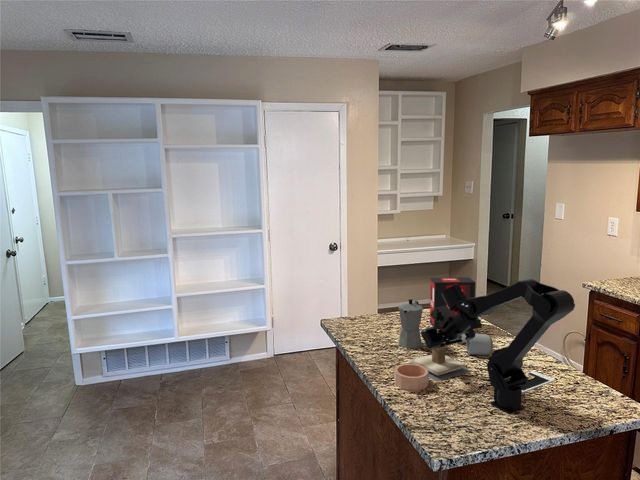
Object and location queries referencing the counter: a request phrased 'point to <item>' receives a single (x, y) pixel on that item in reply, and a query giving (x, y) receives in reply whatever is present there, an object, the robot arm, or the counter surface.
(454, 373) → the rubber mat
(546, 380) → the cell phone
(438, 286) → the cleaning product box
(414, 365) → the terracotta bowl
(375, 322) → the counter surface
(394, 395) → the counter surface
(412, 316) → the coffeepot
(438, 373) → the square lid with knob
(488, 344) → the ceramic mug
